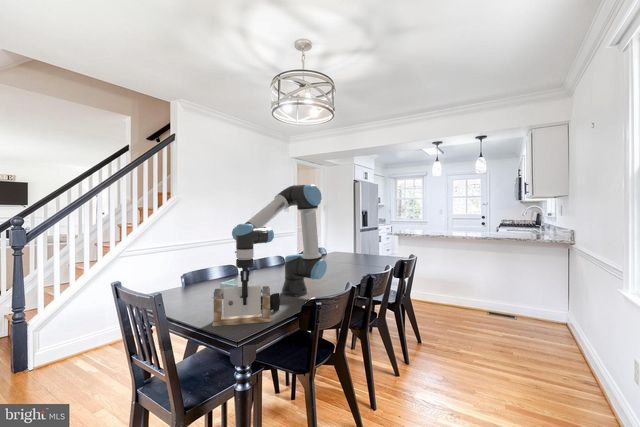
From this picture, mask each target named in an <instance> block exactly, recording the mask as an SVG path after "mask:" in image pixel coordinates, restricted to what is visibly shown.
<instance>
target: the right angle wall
mask: <svg viewBox="0 0 640 427" xmlns="http://www.w3.org/2000/svg"><path fill="white" fill-rule="evenodd" d="M219 284H220V286H219V288H222V291H224V288H225V287H239V286H238V284H236V278H233V279H230V280H226V281H222V282H220V283H219Z"/></svg>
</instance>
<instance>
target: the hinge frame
mask: <svg viewBox="0 0 640 427" xmlns="http://www.w3.org/2000/svg"><path fill="white" fill-rule="evenodd" d="M262 289H263V293H262V296H263V302H262V304H261V305H262V306H261V311H262V312H261V314H255V315H242V316H228V317H224V316H223V295H221V291H222V288H220V287H219V288H215V289H214V291H213V320H212V326H211V327H220V326H222V327H223V326H232V325H245V324H246V325H247V324H248V325H249V324H257V323H258V324H259V323H270V322H272V316H271V309H270V295H271V288H270V286H269V285H263V286H262Z"/></svg>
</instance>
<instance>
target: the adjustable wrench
mask: <svg viewBox="0 0 640 427" xmlns="http://www.w3.org/2000/svg"><path fill="white" fill-rule="evenodd" d="M262 302H263V295H261V305H262ZM280 306H281V297H280V293H279V292H275V293H271V294H270V311H273V312H276V311H280Z"/></svg>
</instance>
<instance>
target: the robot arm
mask: <svg viewBox="0 0 640 427" xmlns="http://www.w3.org/2000/svg"><path fill="white" fill-rule="evenodd" d="M321 201H322V192H321V190H320V188H319V187H318V186H317V185H316V184H297V185H296V184H293V185H290V186H288V187H286V188H284V189H283V190H281V191H279V193H277V194H276V195H275V196H274V198H273V200H272V201H270V202H269V203H268V204H267V205H266V206H264V207H263V208H262V209H261V210H260V211H258V212H257V213H256V214H255V215H253V216H252V217H251V218H250V219H248V220H247V221H246V222H245V223H238V224H237V225H236V226H234V227H233V229H232V231H231V236H232V238H233V240H235V243H236V244H235V246H236V247H235V251H234V253H235V254H236V255H235V256H236V257H235V258H236V260H235V264H236V265H235V267H236V268H238V269H241V270H240V271H239V273H240V274H239V275H240V282H241V287H242V296H240V298H242V312H248V286H249V283H248V282H250V278H249V277H250V270H248V268H249V269H251V268H253V267H254V257H255V256H254V253H255V252H254V245H257V244H267V243H271V242H272V241H273V240H274V237H275V233H274V232H275V231H274V230H273V229H272V228H271V227H269V226H266V225H267V224H268V223H270V222H271V221H272V220H273V219H274V218H275V217H277V216H278V214H280V213H281V212H282V211H283V210H287V209H288V208H290V207H292V206H296V208H297V211H298V212H300V222H301V232H302V233H301V235H302V244H303V245H302V246H303V253H299V254H298V253H297V254H296V253H295V254H289V255H286V256H285V258H284V282H283V285H282V288H281V294H282V295H283V296H287V297H301V296H304V295H306V294H307V293H308V288H307V285H306V282H305V279H311V280H321V279H322V278H323V277H324V275H325V274H326V272H327V268H328V267H327V266H328V264H327V261H326V260H325V259H323V256H322V253H320V252H319V251H320V249H319V239H318V237H319V235H318V226H317V212H316V211H317V210H318V208H319V205H320V204H321Z"/></svg>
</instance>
